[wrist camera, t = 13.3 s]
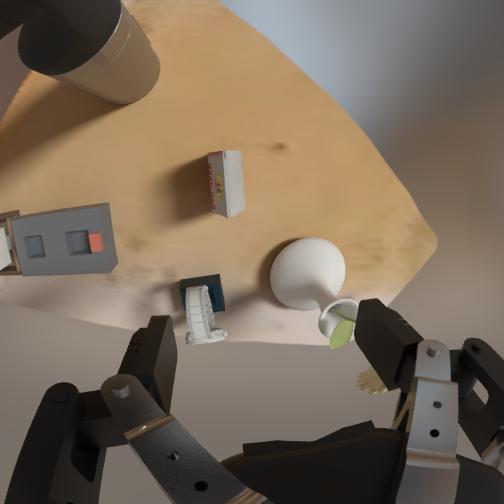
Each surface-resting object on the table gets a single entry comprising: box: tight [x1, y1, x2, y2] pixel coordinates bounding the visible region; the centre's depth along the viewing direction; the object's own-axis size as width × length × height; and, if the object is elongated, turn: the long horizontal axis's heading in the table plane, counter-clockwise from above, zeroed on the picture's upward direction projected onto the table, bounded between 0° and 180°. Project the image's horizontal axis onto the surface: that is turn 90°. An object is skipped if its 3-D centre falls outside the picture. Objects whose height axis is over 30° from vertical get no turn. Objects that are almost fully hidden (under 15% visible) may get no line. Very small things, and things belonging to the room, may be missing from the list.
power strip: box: [11, 203, 118, 276], centre depth 34 cm, size 9×17×4 cm, turn 91°
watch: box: [180, 274, 227, 345], centre depth 36 cm, size 6×8×11 cm
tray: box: [0, 210, 22, 275], centre depth 33 cm, size 10×9×3 cm
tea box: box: [208, 150, 245, 219], centre depth 32 cm, size 4×7×10 cm, turn 4°
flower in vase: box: [270, 237, 400, 395], centre depth 30 cm, size 13×11×25 cm
